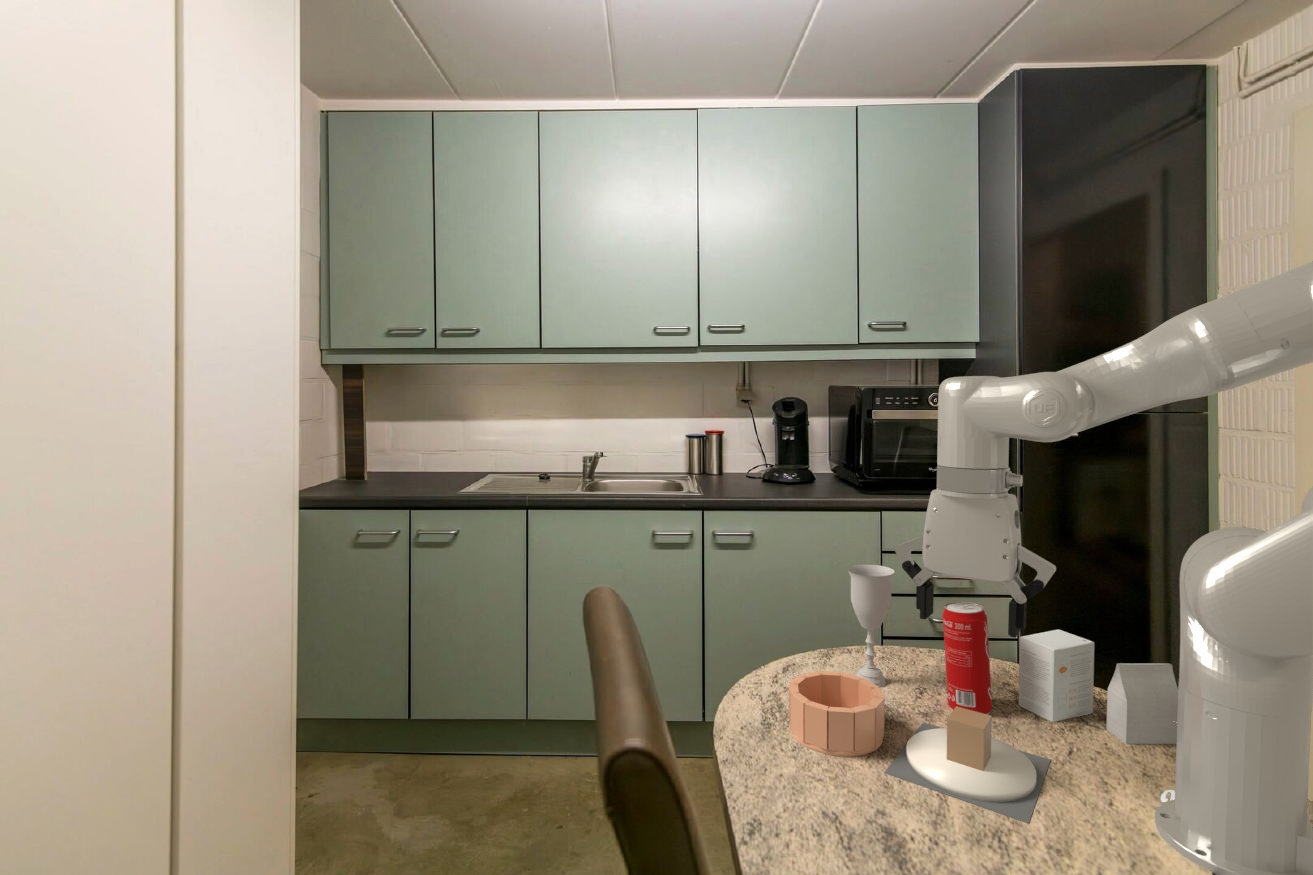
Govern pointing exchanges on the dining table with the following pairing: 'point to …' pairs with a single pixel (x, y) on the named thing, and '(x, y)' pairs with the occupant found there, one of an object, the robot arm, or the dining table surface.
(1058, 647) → the small box
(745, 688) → the dining table surface
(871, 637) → the chalice
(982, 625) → the beverage can
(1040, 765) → the mat
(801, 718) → the bowl
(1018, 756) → the lid
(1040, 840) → the dining table surface
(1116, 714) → the white gabled block
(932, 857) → the dining table surface
